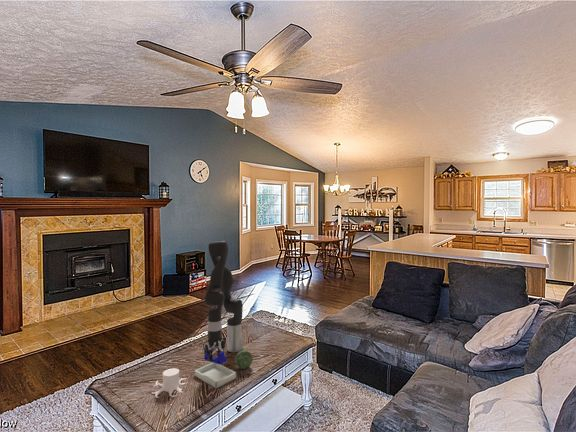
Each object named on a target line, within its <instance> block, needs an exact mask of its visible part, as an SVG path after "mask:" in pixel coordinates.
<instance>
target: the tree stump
mask: <svg viewBox="0 0 576 432" xmlns="http://www.w3.org/2000/svg"><path fill="white" fill-rule="evenodd" d="M180 370H181V369H180V368H175V367H173V368H169V369H166V370H165V369H164V371H162V383H160V382H159V380H156V382H155V384H154V385H153V388H154V387H157V386H159V387H160V388H159V390H157V391H154V392H153V391H151V394H152V395H154V397H155V399H158V398H160V396H159V395H160V394H161V393H162V392H167V393H168V396H169V397H172V398H175V397H177V396H178V394H176V395H172V394H173V393H174V391H177V392H178V393H183V391H182V390H183V388H180V386H182V385H186V384H187V382H183V383H181V381H183V380H187V379H188V377H186V378H185V377H184V378H183V377H182V378H180Z"/></svg>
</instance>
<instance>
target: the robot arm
mask: <svg viewBox="0 0 576 432" xmlns="http://www.w3.org/2000/svg"><path fill="white" fill-rule="evenodd" d="M208 252H209V253H208V254H209V256H210V259H211V261H212V265H213V266H214V268H213V269H212V270H211V273H210V277H209V285H208V289H207V291H206V293H205V296H204V304H205V305H207V306H217V307H214V308H211V309H209V310H208V311H207V317H208V318H207V319H208V320H207V338H208V339H207V342H204V343H202V346H203V347H202V348H203V352H205V354H207V355H208V360H209V361H208V362H210V361H212V354H213V351H214V350H215V348H217V355H218V354H219V353H220V352H221V351H223V349H225V348H227V352H228V353H229V352H230V353H238V352H239V351H241V350H243V348H244V347H243V346H244V344H243V343H244V341H243V340H244V339H243V338H244V335H243V333H242V321H243V309H244V307H243V301H242V299H238V298H233V297H232V294H231V290H232V288H233V285H234V276H233V273H232V271H231V270H230V268H229V267H227V265H226V263H227V259H228V254H229V243H228V242H227V241H226V240H219V241H218V240H217V241H211V242H210V243H208ZM218 290H220V291H218ZM223 308H224V310H225V312H226V313H229V314H233V316H231V317H229V318H228V319H226V329H227V330H226V331H227V333H226V334H227V335H226V337H225V336H223V330H222V329H223V324H222V309H223ZM226 341H227V342H226ZM225 346H227V347H225Z"/></svg>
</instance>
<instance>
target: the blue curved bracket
mask: <svg viewBox="0 0 576 432" xmlns="http://www.w3.org/2000/svg"><path fill="white" fill-rule="evenodd" d="M203 352H204V351H203ZM203 355H204V357H203V358H204V360H205V361H207V362H211V363H216V364H220V365H223V364H225V363H227V355H225V351H224V350H222V351H221V352H220V353H219V354H218V353H217V356H215V355H213V353H212V361H209V360H208V355H207V354H205V352H204V353H203Z"/></svg>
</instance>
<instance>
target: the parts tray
mask: <svg viewBox="0 0 576 432" xmlns="http://www.w3.org/2000/svg"><path fill="white" fill-rule="evenodd" d="M237 375H238V374H237V372H236V371H234V370H232V369H230V368H229V367H226V366H224V365H223V364H221V365H220V364H216V363H213V362H211V363H208V364H206V365H203V366H202V367H199V368H196V369H195V370H194V377H196V378H198V379H200V380H201V381H203V382H204V383H206V384H208V385H209V386H210V387H212V388H214V389H218V388H220V387H222V386H225V385H226V384H229V383H230V382H232V381H234V380H236V379H237V377H238V376H237Z"/></svg>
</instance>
